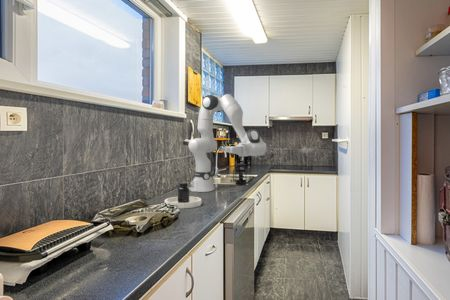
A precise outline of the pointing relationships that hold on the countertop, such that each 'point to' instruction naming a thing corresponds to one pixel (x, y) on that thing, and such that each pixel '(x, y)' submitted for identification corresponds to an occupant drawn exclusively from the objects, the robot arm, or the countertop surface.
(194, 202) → the ceramic bowl
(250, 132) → the robot arm
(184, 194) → the supplement bottle
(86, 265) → the countertop surface
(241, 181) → the french press
